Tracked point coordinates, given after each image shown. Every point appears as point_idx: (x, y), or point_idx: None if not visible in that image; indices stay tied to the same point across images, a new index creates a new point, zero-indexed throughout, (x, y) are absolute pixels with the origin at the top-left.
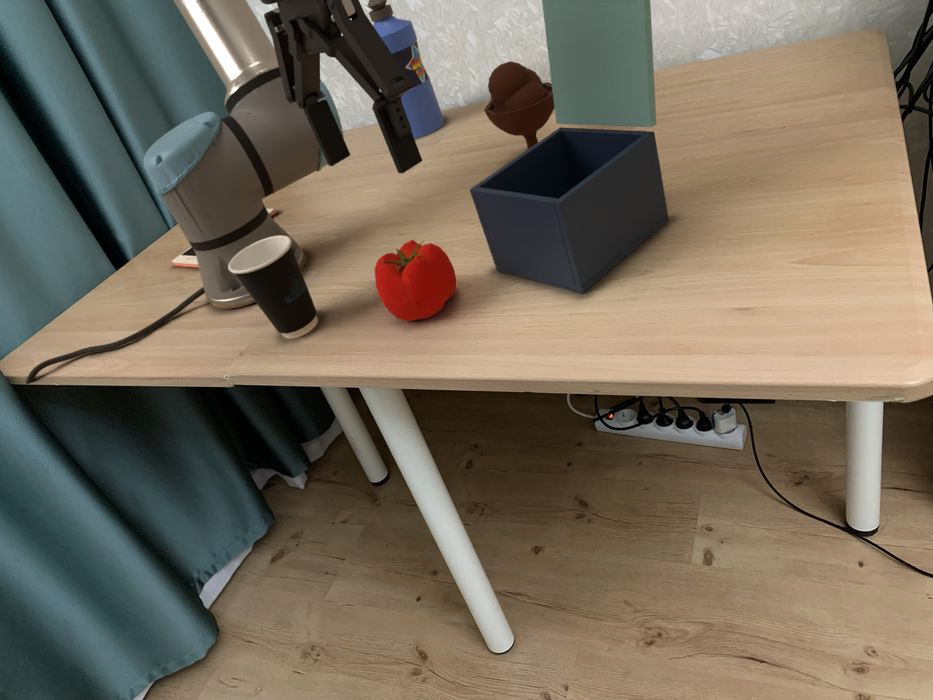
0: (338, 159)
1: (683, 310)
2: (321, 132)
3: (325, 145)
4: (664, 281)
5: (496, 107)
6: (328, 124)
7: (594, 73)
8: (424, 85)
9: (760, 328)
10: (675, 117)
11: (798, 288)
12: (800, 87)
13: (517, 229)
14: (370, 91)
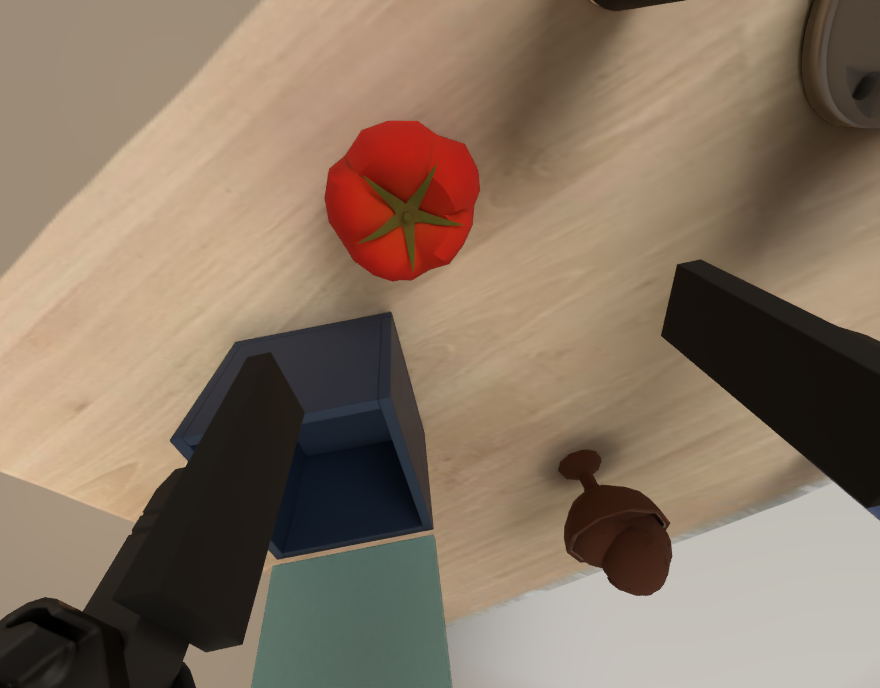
0: (676, 298)
1: (117, 379)
2: (783, 345)
3: (734, 308)
4: (190, 398)
5: (643, 517)
6: (778, 393)
7: (352, 635)
8: (876, 508)
9: (34, 397)
10: (476, 542)
11: (87, 445)
12: None
13: (304, 374)
14: None
